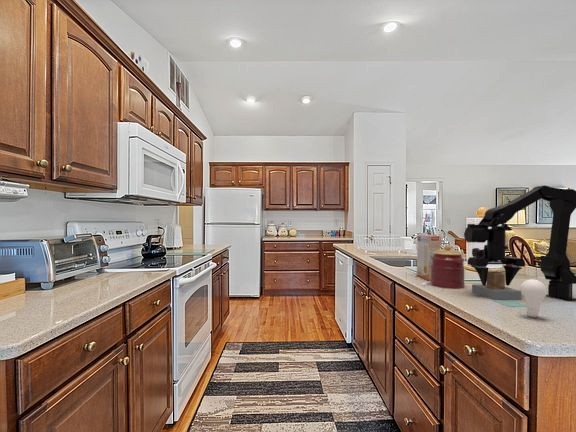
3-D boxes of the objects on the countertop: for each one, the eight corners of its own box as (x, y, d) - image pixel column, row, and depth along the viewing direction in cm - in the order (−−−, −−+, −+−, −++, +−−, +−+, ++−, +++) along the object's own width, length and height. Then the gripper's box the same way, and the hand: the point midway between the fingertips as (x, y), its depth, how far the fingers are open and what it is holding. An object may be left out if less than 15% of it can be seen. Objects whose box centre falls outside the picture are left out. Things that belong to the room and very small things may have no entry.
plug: (496, 294, 123) (496, 271, 123) (505, 297, 118) (505, 273, 118) (486, 294, 122) (486, 271, 122) (494, 297, 118) (494, 273, 118)
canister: (436, 289, 133) (436, 245, 133) (426, 283, 146) (426, 243, 146) (470, 290, 131) (470, 246, 131) (457, 284, 144) (457, 243, 144)
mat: (512, 302, 113) (512, 300, 113) (529, 308, 106) (529, 306, 106) (493, 302, 112) (493, 300, 112) (509, 308, 105) (509, 306, 105)
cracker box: (441, 281, 151) (441, 235, 151) (427, 281, 151) (428, 235, 151) (428, 275, 165) (428, 234, 165) (416, 275, 165) (416, 233, 165)
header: (496, 293, 127) (496, 284, 127) (521, 301, 115) (521, 291, 115) (471, 293, 126) (472, 284, 126) (494, 301, 114) (494, 291, 114)
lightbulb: (547, 321, 92) (548, 282, 92) (520, 318, 95) (521, 279, 95) (544, 316, 97) (545, 279, 97) (519, 313, 100) (519, 276, 100)
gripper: (503, 241, 129) (502, 281, 129) (458, 241, 128) (458, 281, 127) (526, 243, 118) (526, 287, 118) (477, 243, 116) (477, 287, 116)
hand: (495, 285), depth 120 cm, fingers open, 9 cm apart
